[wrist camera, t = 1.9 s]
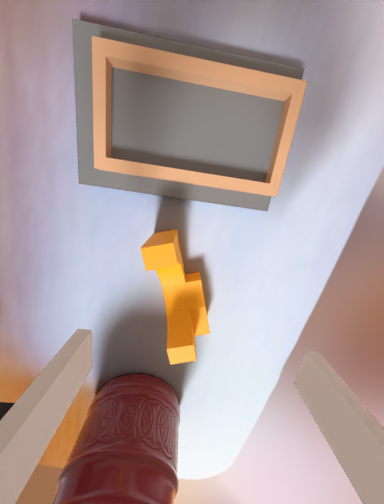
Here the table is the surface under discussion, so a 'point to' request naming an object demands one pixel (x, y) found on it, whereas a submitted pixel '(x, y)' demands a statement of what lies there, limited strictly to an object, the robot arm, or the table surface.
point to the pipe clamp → (177, 295)
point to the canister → (125, 446)
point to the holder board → (181, 117)
